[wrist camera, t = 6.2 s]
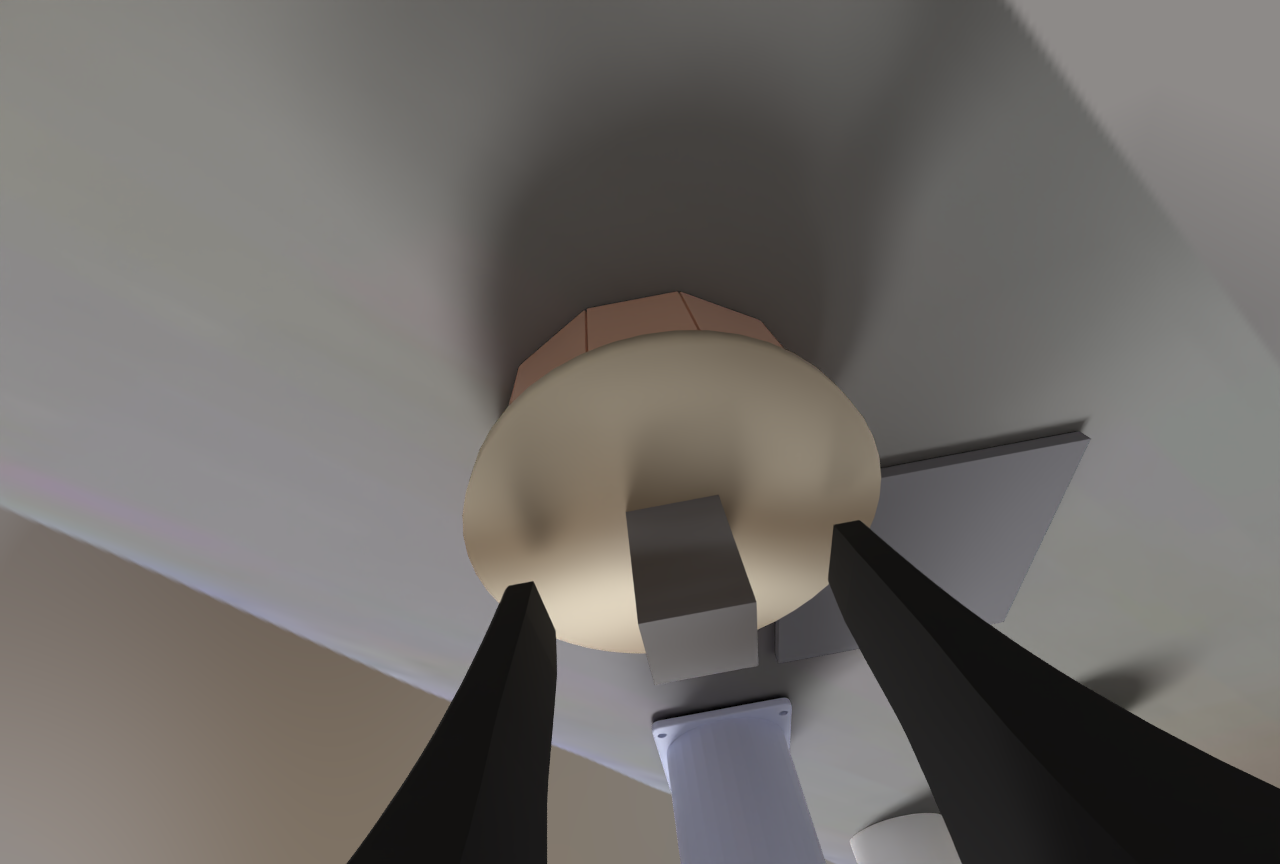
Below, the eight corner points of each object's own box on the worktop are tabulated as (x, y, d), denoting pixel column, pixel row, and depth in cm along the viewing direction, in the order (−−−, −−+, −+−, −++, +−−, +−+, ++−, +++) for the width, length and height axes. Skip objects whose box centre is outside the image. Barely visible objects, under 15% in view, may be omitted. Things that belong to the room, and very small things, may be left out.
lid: (847, 597, 17) (913, 719, 13) (535, 656, 17) (524, 791, 13) (893, 286, 10) (1039, 371, 7) (393, 381, 10) (307, 509, 7)
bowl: (796, 517, 19) (834, 590, 16) (550, 563, 19) (545, 644, 16) (806, 266, 13) (867, 310, 11) (457, 333, 14) (424, 394, 11)
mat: (996, 613, 25) (1003, 621, 24) (775, 654, 25) (778, 663, 24) (1079, 431, 18) (1090, 438, 18) (776, 488, 18) (781, 496, 18)
